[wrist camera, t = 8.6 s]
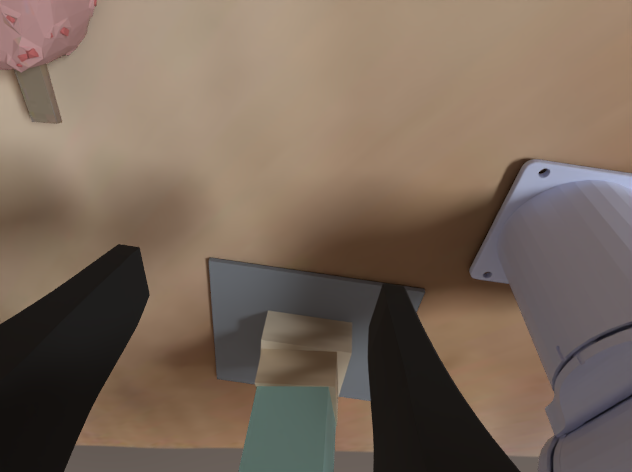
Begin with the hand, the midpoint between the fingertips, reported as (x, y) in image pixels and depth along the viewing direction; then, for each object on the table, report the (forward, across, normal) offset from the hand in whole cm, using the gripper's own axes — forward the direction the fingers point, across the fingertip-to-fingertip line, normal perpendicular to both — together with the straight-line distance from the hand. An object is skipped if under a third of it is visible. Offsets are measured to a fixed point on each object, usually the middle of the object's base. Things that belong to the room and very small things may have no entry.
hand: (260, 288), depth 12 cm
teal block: (+5, -2, +16) cm, 17 cm away
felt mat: (+10, -2, +16) cm, 19 cm away
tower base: (+10, -2, +16) cm, 19 cm away
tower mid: (+7, -2, +16) cm, 18 cm away
